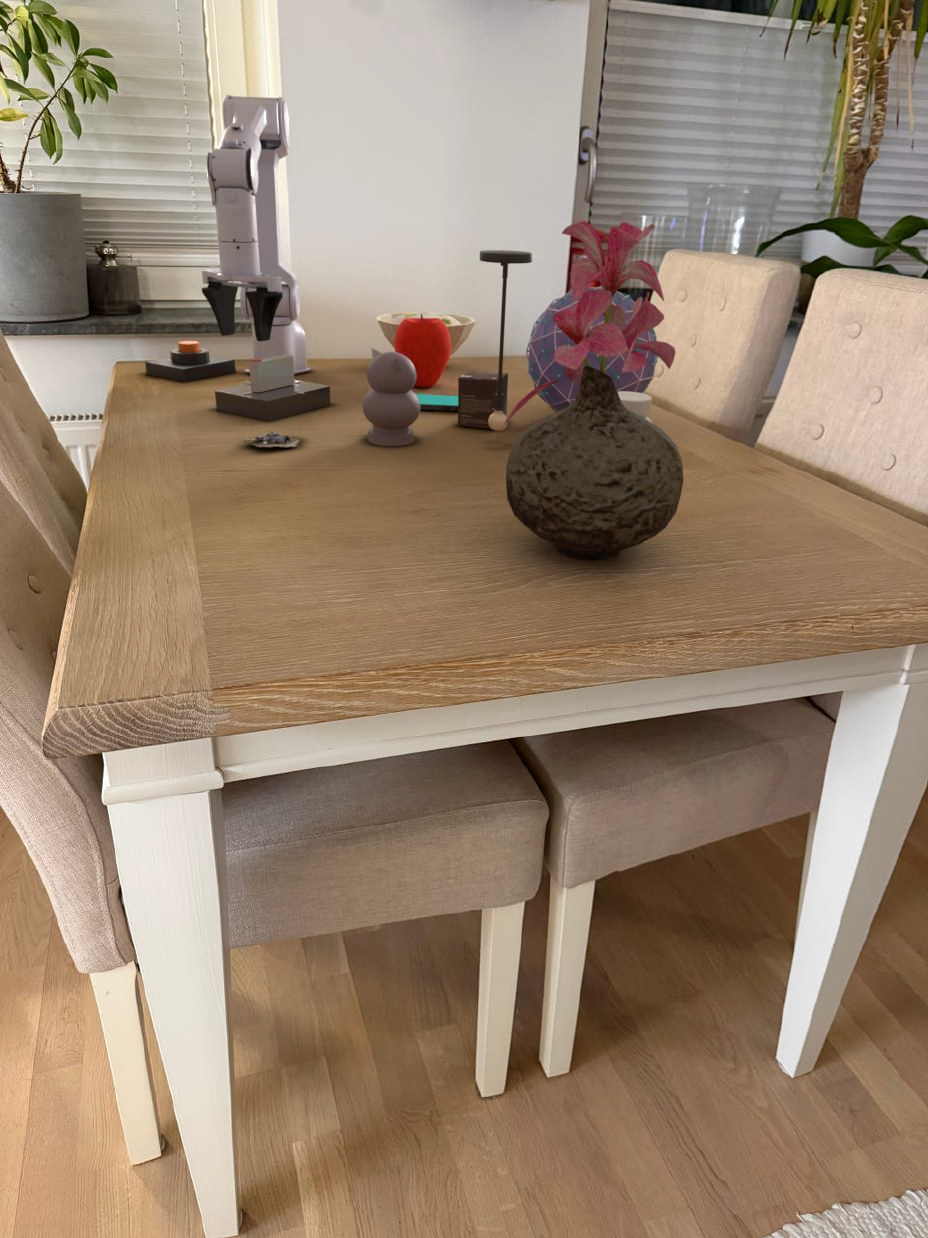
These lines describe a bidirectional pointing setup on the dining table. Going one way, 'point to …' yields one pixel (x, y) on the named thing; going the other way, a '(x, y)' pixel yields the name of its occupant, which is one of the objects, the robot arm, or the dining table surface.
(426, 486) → the dining table surface
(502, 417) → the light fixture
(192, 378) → the control block
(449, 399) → the smartphone
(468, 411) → the box
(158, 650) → the dining table surface
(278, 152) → the robot arm
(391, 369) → the cat figurine
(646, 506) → the vase
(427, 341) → the apple
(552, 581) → the dining table surface
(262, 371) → the upright gray tile
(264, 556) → the dining table surface
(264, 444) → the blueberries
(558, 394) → the decorative sphere
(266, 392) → the tile base
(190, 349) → the button
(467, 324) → the bowl
